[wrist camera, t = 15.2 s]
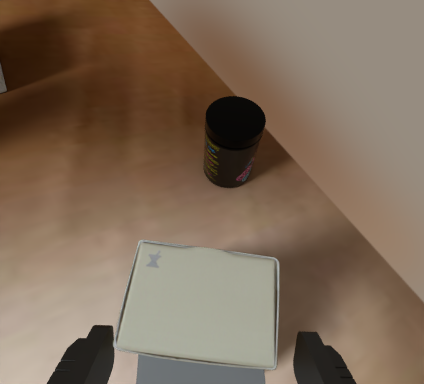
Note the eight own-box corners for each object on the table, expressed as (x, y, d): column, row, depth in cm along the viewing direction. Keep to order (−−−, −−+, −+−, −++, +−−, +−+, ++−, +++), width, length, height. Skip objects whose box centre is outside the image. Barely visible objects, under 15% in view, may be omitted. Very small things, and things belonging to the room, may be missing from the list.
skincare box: (148, 353, 21) (99, 351, 10) (160, 291, 23) (131, 235, 12) (236, 365, 21) (281, 376, 10) (240, 302, 23) (281, 255, 12)
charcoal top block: (152, 280, 28) (145, 267, 24) (243, 277, 29) (252, 264, 24) (146, 391, 24) (135, 400, 19) (253, 385, 24) (266, 393, 20)
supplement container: (230, 199, 38) (241, 151, 29) (193, 171, 40) (192, 118, 31) (259, 168, 41) (277, 116, 32) (222, 143, 43) (230, 87, 34)
